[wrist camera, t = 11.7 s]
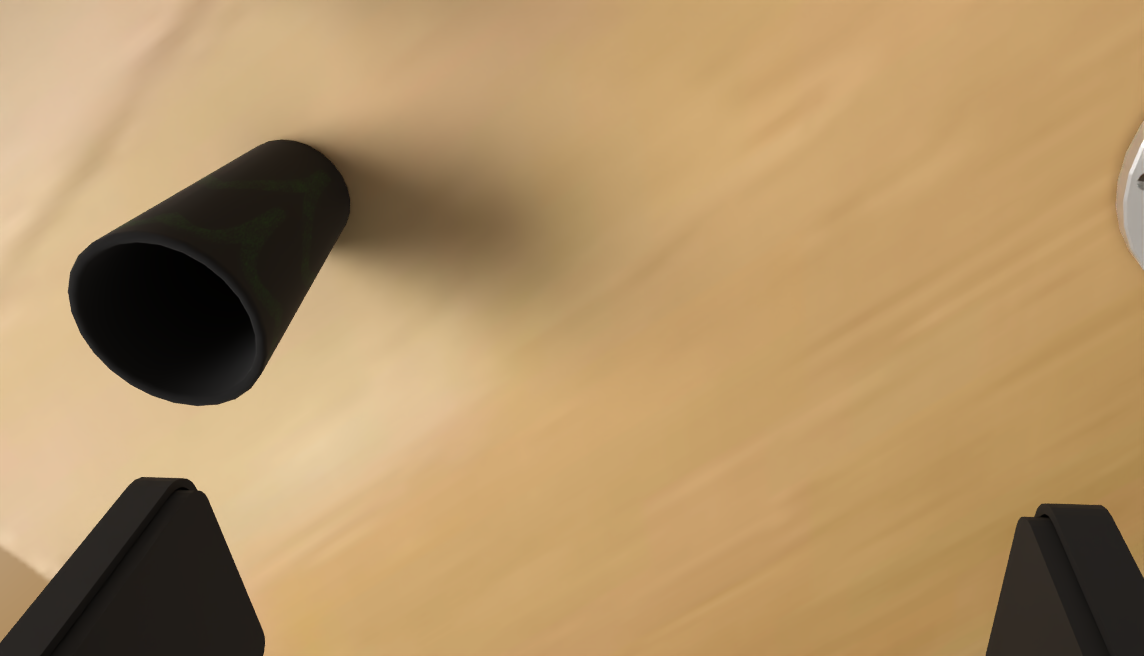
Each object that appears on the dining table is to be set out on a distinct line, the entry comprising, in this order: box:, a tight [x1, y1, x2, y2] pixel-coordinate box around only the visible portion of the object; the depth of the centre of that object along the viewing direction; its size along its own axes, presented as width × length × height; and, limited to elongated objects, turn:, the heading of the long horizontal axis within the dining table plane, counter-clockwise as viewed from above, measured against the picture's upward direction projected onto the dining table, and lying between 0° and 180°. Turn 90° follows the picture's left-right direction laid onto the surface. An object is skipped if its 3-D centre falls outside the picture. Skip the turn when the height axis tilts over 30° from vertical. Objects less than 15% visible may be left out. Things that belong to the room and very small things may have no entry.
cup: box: [68, 140, 350, 406], centre depth 38 cm, size 8×8×12 cm
